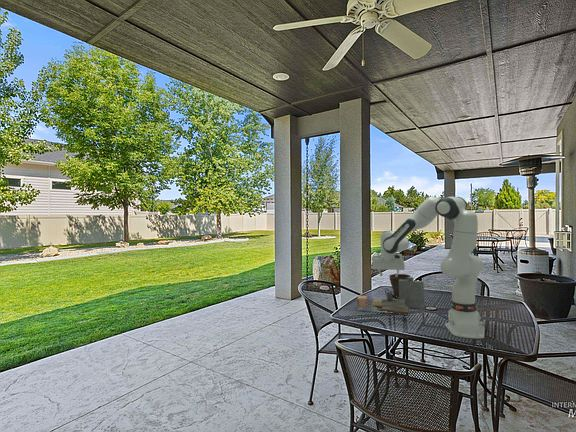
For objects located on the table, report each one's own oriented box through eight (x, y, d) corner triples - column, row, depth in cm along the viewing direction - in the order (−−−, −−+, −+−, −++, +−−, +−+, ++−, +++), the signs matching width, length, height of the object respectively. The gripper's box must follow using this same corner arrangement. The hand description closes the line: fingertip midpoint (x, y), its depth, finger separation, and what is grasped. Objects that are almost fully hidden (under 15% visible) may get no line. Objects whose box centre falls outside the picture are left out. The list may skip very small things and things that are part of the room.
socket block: (366, 307, 207) (365, 298, 207) (357, 307, 209) (357, 298, 209) (367, 304, 213) (367, 296, 213) (359, 304, 215) (359, 295, 215)
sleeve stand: (408, 314, 193) (407, 304, 193) (356, 310, 205) (355, 300, 205) (408, 308, 206) (408, 298, 206) (359, 304, 218) (359, 295, 218)
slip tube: (398, 307, 201) (397, 293, 200) (372, 305, 207) (371, 292, 207) (398, 306, 203) (397, 292, 203) (373, 304, 210) (372, 290, 210)
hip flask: (425, 307, 207) (423, 277, 206) (424, 309, 203) (422, 278, 203) (400, 304, 215) (399, 275, 215) (398, 306, 212) (397, 276, 212)
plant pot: (388, 298, 230) (387, 277, 230) (392, 293, 244) (391, 273, 243) (410, 300, 223) (409, 278, 223) (412, 295, 237) (411, 274, 236)
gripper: (371, 255, 205) (371, 276, 205) (404, 256, 197) (405, 277, 197) (372, 254, 211) (373, 274, 211) (404, 254, 203) (405, 275, 203)
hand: (388, 276), depth 204 cm, fingers open, 8 cm apart
